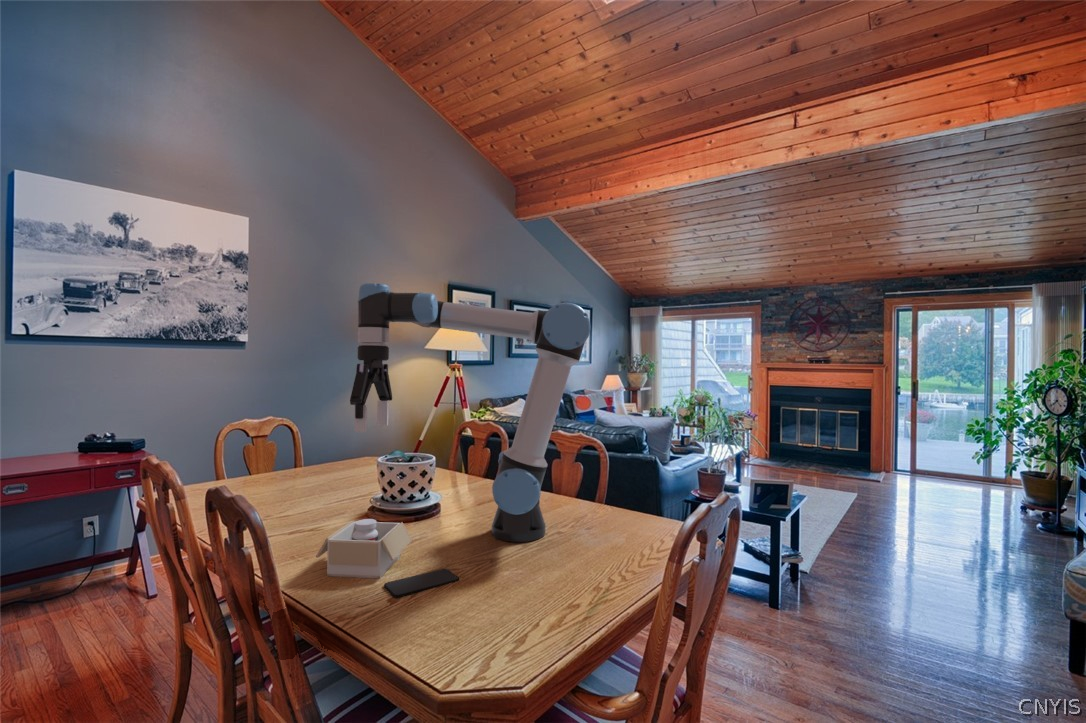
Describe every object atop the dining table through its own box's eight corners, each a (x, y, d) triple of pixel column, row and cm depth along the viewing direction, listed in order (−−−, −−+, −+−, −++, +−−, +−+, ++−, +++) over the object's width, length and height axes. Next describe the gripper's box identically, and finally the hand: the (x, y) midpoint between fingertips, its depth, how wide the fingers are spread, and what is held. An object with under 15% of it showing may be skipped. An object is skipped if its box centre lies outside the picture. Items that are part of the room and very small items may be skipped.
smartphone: (461, 578, 108) (395, 596, 98) (461, 582, 108) (394, 601, 98) (446, 567, 113) (382, 583, 104) (446, 571, 113) (381, 587, 104)
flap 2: (400, 522, 121) (410, 540, 121) (380, 540, 108) (391, 560, 108) (402, 521, 121) (412, 539, 120) (382, 539, 108) (393, 559, 108)
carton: (401, 554, 121) (401, 522, 121) (379, 579, 108) (379, 542, 108) (354, 552, 122) (354, 520, 122) (326, 576, 108) (326, 540, 108)
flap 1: (352, 520, 122) (342, 537, 122) (326, 537, 109) (315, 556, 109) (353, 521, 122) (343, 538, 122) (328, 538, 109) (317, 558, 109)
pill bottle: (368, 571, 110) (369, 526, 111) (346, 568, 112) (347, 524, 112) (382, 561, 116) (383, 519, 116) (360, 558, 117) (362, 517, 117)
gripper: (378, 346, 138) (377, 422, 137) (335, 342, 113) (333, 435, 113) (404, 347, 137) (403, 422, 137) (367, 342, 112) (365, 435, 112)
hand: (372, 428), depth 125 cm, fingers open, 13 cm apart
